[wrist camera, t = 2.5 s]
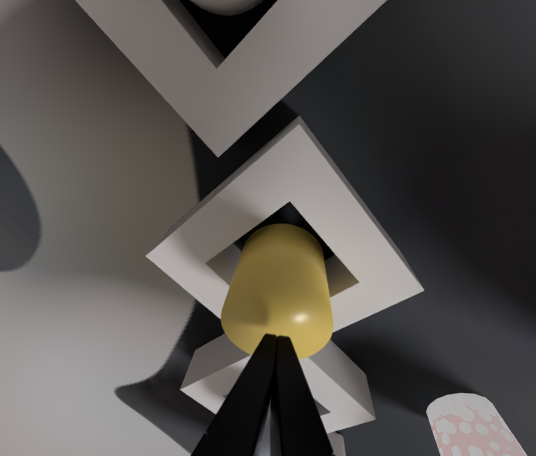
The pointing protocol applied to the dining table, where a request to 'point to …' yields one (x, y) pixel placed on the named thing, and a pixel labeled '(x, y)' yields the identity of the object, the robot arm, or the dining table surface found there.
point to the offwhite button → (226, 6)
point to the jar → (337, 443)
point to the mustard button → (279, 291)
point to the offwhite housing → (235, 65)
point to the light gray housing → (315, 370)
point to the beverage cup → (470, 427)
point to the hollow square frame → (311, 208)
